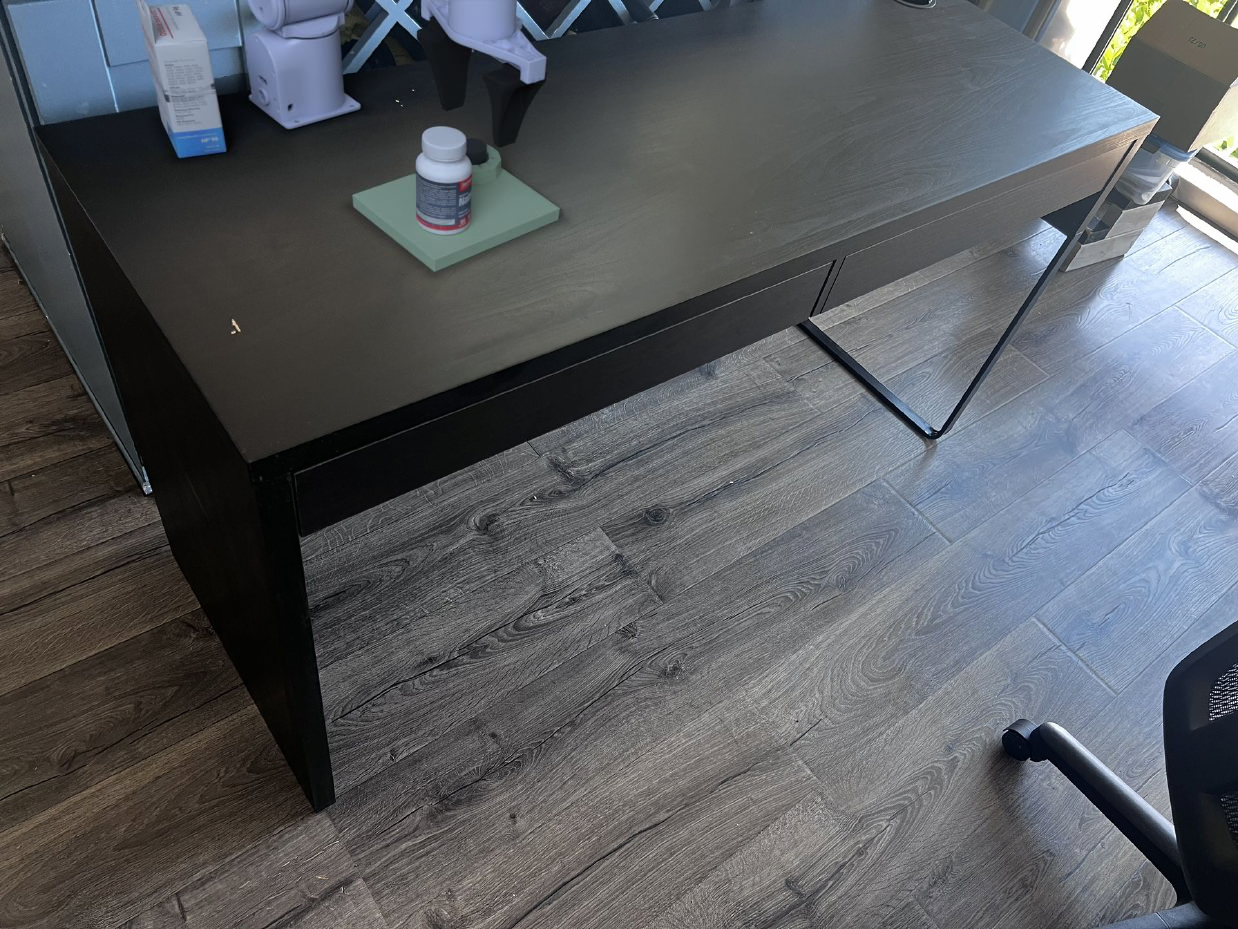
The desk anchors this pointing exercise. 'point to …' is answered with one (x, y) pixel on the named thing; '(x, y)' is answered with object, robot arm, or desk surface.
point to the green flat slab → (494, 214)
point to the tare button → (476, 151)
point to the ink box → (182, 78)
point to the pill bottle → (443, 182)
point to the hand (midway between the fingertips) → (478, 125)
